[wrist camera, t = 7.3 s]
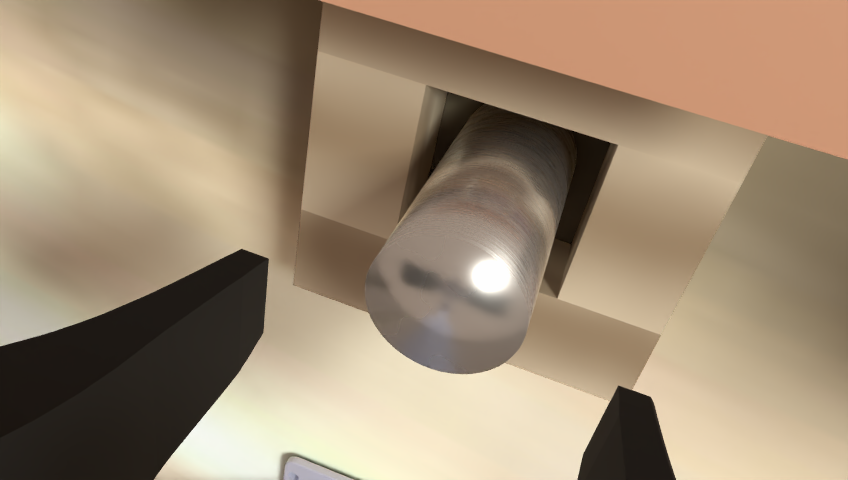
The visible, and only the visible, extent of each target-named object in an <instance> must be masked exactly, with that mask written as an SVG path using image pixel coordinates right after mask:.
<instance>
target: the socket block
mask: <svg viewBox="0 0 848 480" xmlns="http://www.w3.org/2000/svg"><path fill="white" fill-rule="evenodd" d="M448 92H451V93H454V94H457V95H460V96H463V97H467V98H470V99H473V100H476V101H479V102H483V103H486V104H489V105H492V106H495V107H499V108H502V109H505V110H508V111H511V112H515V113H518V114H521V115H524V116H527V117H531V118H534V119H537V120H540V121H543V122H547V123H550V124H553V125H556V126H559V127H563V128H566V129H569V130H572V131H575V132H579V133H582V134H585V135H588V136H591V137H595V138H598V139H601V140H604V141H607V142H611V143H610V146H609V148H608V151H607V154H606V156H605V159H604V161H603V164H602V166H601V169H600V172H599V174H598V177H597V179H596V182H595V184H594V187H593V190H592V192H591V195H590V197H589V200H588V202H587V205H586V208H585V210H584V213H583V215H582V218H581V220H580V223H579V226H578V228H577V231H576V233H575V236H574V238H573V241H572V244H569V243H566V242H563V241H560V240H557V239H554V242H553V245H552V248H551V252H550V255H549V259H548V262H547V265H546V269H545V272H544V275H543V279H542V282H541V286H540V289H539V292H538V296H537V299H536V303H535V306H534V309H533V313H532V316H531V320H530V323H529V326H528V330H527V333H526V336H525V338H524V341H523V343H522V345H521V346H520V348H519V350H518V351H517V352H516V353H515V354H514V355H513V356H512V357H511V358H510V359H509V360H508V361H506V362H505V363H507V364H510V365H513V366H515V367H518V368H521V369H524V370H526V371H529V372H532V373H534V374H537V375H540V376H543V377H545V378H548V379H551V380H554V381H556V382H559V383H562V384H564V385H567V386H570V387H573V388H575V389H578V390H581V391H584V392H586V393H589V394H592V395H594V396H597V397H600V398H603V399H605V400H608V401H611V399H612V397H613V395H614V393H615V391H616V389H617V387H618V385H619V386H622V387H624V388H627V389H630V390H632V389H633V387H634V385H635V383H636V381H637V379H638V377H639V376H640V374H641V372H642V370H643V368H644V366H645V364H646V362H647V361H648V359H649V357H650V355H651V353H652V351H653V349H654V347H655V346H656V344H657V342H658V340H659V338H660V336H661V334H662V332H663V331H664V329H665V327H666V325H667V323H668V321H669V319H670V317H671V316H672V314H673V312H674V310H675V308H676V306H677V304H678V302H679V301H680V299H681V297H682V295H683V293H684V291H685V289H686V287H687V286H688V284H689V282H690V280H691V278H692V276H693V274H694V272H695V270H696V269H697V267H698V265H699V263H700V261H701V259H702V257H703V255H704V254H705V252H706V250H707V248H708V246H709V244H710V242H711V240H712V239H713V237H714V235H715V233H716V231H717V229H718V227H719V225H720V224H721V222H722V220H723V218H724V216H725V214H726V212H727V210H728V209H729V207H730V205H731V203H732V201H733V199H734V197H735V195H736V194H737V192H738V190H739V188H740V186H741V184H742V182H743V180H744V179H745V177H746V175H747V173H748V171H749V169H750V167H751V165H752V164H753V162H754V160H755V158H756V156H757V154H758V152H759V150H760V148H761V147H762V145H763V143H764V141H765V139H766V137H767V135H765V134H762V133H758V132H755V131H752V130H748V129H745V128H742V127H738V126H735V125H732V124H728V123H725V122H722V121H718V120H715V119H712V118H709V117H705V116H702V115H699V114H695V113H692V112H689V111H685V110H682V109H679V108H675V107H672V106H669V105H665V104H662V103H659V102H655V101H652V100H649V99H645V98H642V97H639V96H635V95H632V94H629V93H625V92H622V91H619V90H615V89H612V88H609V87H606V86H602V85H599V84H596V83H592V82H589V81H586V80H582V79H579V78H576V77H572V76H569V75H566V74H562V73H559V72H556V71H552V70H549V69H546V68H542V67H539V66H536V65H532V64H529V63H526V62H522V61H519V60H516V59H512V58H509V57H506V56H502V55H499V54H496V53H493V52H489V51H486V50H483V49H479V48H476V47H473V46H469V45H466V44H463V43H459V42H456V41H453V40H449V39H446V38H443V37H439V36H436V35H433V34H429V33H426V32H423V31H419V30H416V29H413V28H409V27H406V26H403V25H399V24H396V23H393V22H390V21H386V20H383V19H380V18H376V17H373V16H370V15H366V14H363V13H360V12H356V11H353V10H350V9H346V8H343V7H340V6H336V5H333V4H330V3H326V2H323V6H322V15H321V25H320V35H319V44H318V54H317V63H316V73H315V82H314V92H313V101H312V111H311V120H310V130H309V139H308V149H307V159H306V168H305V178H304V187H303V197H302V206H301V216H300V225H299V235H298V244H297V254H296V263H295V273H294V283H293V285H295V286H298V287H300V288H303V289H306V290H308V291H311V292H314V293H317V294H319V295H322V296H325V297H328V298H330V299H333V300H336V301H338V302H341V303H344V304H347V305H349V306H352V307H355V308H357V309H360V310H363V311H366V312H368V313H369V311H368V309H367V305H366V301H365V280H366V275H367V273H368V270H369V268H370V266H371V264H372V263H373V261H374V259H375V258H376V256H377V255H378V253H379V252H380V250H381V249H382V247H383V246H384V244H385V243H386V241H387V240H388V238H389V237H390V235H391V234H392V232H393V231H394V229H395V228H396V226H397V225H398V223H399V222H400V220H401V219H402V217H403V216H404V214H405V213H406V211H407V210H408V208H409V207H410V205H411V204H412V203H413V201H414V200H415V198H416V197H417V195H418V194H419V192H420V191H421V189H422V188H423V186H424V185H425V183H426V182H427V180H428V177H429V173H430V168H431V164H432V159H433V155H434V150H435V146H436V142H437V137H438V133H439V128H440V124H441V119H442V115H443V110H444V106H445V102H446V97H447V93H448Z"/></svg>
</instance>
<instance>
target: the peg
mask: <svg viewBox="0 0 848 480" xmlns="http://www.w3.org/2000/svg"><path fill="white" fill-rule="evenodd" d="M576 162H577V148H576V143H575V139H574V136H573V134H572V131H571V130H569V129H566V128H563V127H559V126H556V125H553V124H550V123H547V122H543V121H540V120H537V119H534V118H531V117H527V116H524V115H521V114H518V113H515V112H511V111H508V110H505V109H502V108H499V107H495V106H492V105H489V104H484V105H483V106H481V107H480V108H478V109H477V110H476V111H475V112H474V113H473V114H472V115H471V116H470V118H469V119H468V120H467V122H466V123H465V125H464V126H463V128H462V129H461V131H460V132H459V134H458V135H457V137H456V138H455V140H454V141H453V143H452V144H451V146H450V147H449V149H448V150H447V152H446V153H445V155H444V156H443V158H442V159H441V161H440V162H439V164H438V165H437V167H436V168H435V170H434V171H433V173H432V174H431V176H430V177H429V179H428V180H427V182H426V183H425V185H424V186H423V188H422V189H421V191H420V192H419V194H418V195H417V197H416V198H415V200H414V201H413V203H412V204H411V205H410V207H409V208H408V210H407V211H406V213H405V214H404V216H403V217H402V219H401V220H400V222H399V223H398V225H397V226H396V228H395V229H394V231H393V232H392V234H391V235H390V237H389V238H388V240H387V241H386V243H385V244H384V246H383V247H382V249H381V250H380V252H379V253H378V255H377V256H376V258H375V259H374V261H373V263H372V264H371V266H370V268H369V270H368V273H367V275H366V280H365V301H366V305H367V309H368V311H369V314H370V316H371V319H372V321H373V322H374V324H375V326H376V327H377V329H378V330H379V332H380V333H381V334H382V336H383V337H384V338H385V339H386V340H387V341H388V342H389V343H390V344H391V345H392V346H393V347H394V348H395V349H397V350H398V351H399V352H400V353H402V354H403V355H405V356H406V357H408V358H409V359H411V360H413V361H415V362H417V363H419V364H421V365H423V366H426V367H428V368H431V369H434V370H438V371H442V372H447V373H455V374H473V373H480V372H484V371H488V370H491V369H493V368H496V367H498V366H500V365H501V364H503V363H505V362H506V361H508V360H509V359H510V358H511V357H512V356H513V355H514V354H515V353H516V352H517V351H518V350H519V348H520V346H521V345H522V343H523V341H524V338H525V336H526V333H527V330H528V326H529V323H530V320H531V316H532V313H533V309H534V306H535V303H536V299H537V296H538V292H539V289H540V286H541V282H542V279H543V275H544V272H545V269H546V265H547V262H548V259H549V255H550V252H551V248H552V245H553V242H554V238H555V235H556V231H557V228H558V225H559V221H560V218H561V214H562V211H563V208H564V204H565V201H566V197H567V194H568V191H569V187H570V184H571V181H572V177H573V174H574V170H575V166H576Z"/></svg>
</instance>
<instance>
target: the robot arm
mask: <svg viewBox="0 0 848 480" xmlns="http://www.w3.org/2000/svg"><path fill="white" fill-rule="evenodd" d="M268 262H269V259H268V258H265V257H262V256H260V255H257V254H254V253H251V252H248V251H246V250H243V249H241V250H239V251H237V252H234V253H232V254H230V255H228V256H226V257H224V258H222V259H220V260H218V261H216V262H214V263H212V264H210V265H208V266H206V267H204V268H202V269H200V270H198V271H196V272H194V273H192V274H190V275H188V276H186V277H184V278H182V279H180V280H178V281H176V282H174V283H172V284H170V285H168V286H166V287H163V288H161V289H159V290H157V291H155V292H153V293H151V294H149V295H147V296H144V297H142V298H140V299H137V300H135V301H133V302H130V303H128V304H126V305H123V306H121V307H119V308H116V309H114V310H111V311H109V312H107V313H104V314H102V315H99V316H97V317H94V318H91V319H89V320H86V321H83V322H80V323H78V324H75V325H72V326H69V327H66V328H63V329H60V330H57V331H54V332H51V333H47V334H44V335H41V336H37V337H34V338H30V339H26V340H23V341H19V342H15V343H11V344H8V345H4V346H0V480H154V478H155V477H156V475H157V474H158V473H159V471H160V470H161V469H162V467H163V466H164V465H165V463H166V462H167V461H168V459H169V458H170V457H171V455H172V454H173V453H174V452H175V450H176V449H177V448H178V447H179V445H180V444H181V443H182V442H183V441H184V439H185V438H186V437H187V436H188V434H189V433H190V432H191V431H192V430H193V428H194V427H195V426H196V425H197V423H198V422H199V421H200V420H201V419H202V417H203V416H204V415H205V414H206V413H207V411H208V410H209V409H210V408H211V406H212V405H213V404H214V403H215V402H216V400H217V399H218V398H219V397H220V395H221V394H222V393H223V392H224V390H225V389H226V388H227V387H228V385H229V384H230V383H231V382H232V380H233V379H234V378H235V377H236V375H237V374H238V373H239V371H240V370H241V368H242V366H243V365H244V363H245V362H246V360H247V359H248V357H249V355H250V354H251V352H252V350H253V349H254V347H255V345H256V344H257V342H258V340H259V339H260V337H261V335H262V334H263V329H264V315H265V302H266V288H267V275H268ZM283 480H354V479H351V478H349V477H346V476H344V475H341V474H339V473H336V472H334V471H331V470H329V469H327V468H324V467H322V466H319V465H317V464H314V463H312V462H309V461H307V460H304V459H302V458H299V457H296V456H294V457H290V458H289V459H288V460H287V462H286V464H285V469H284V478H283ZM578 480H676V478H675V475H674V472H673V469H672V466H671V463H670V460H669V456H668V453H667V450H666V447H665V443H664V440H663V436H662V433H661V429H660V425H659V422H658V418H657V414H656V410H655V406H654V403H653V401H652V399H651V397H649V396H647V395H644V394H641V393H638V392H636V391H633V390H630V389H627V388H624V387H622V386H619V385H618V387H617V389H616V391H615V393H614V395H613V397H612V399H611V401H610V403H609V405H608V407H607V409H606V411H605V413H604V414H603V416H602V418H601V420H600V422H599V424H598V426H597V428H596V430H595V432H594V434H593V436H592V438H591V440H590V442H589V444H588V446H587V448H586V450H585V452H584V454H583V458H582V462H581V467H580V471H579V475H578Z"/></svg>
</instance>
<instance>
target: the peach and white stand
mask: <svg viewBox="0 0 848 480" xmlns="http://www.w3.org/2000/svg"><path fill="white" fill-rule="evenodd" d="M320 1H323V2H326V3H330V4H333V5H336V6H340V7H343V8H346V9H350V10H353V11H356V12H360V13H363V14H366V15H370V16H373V17H376V18H380V19H383V20H386V21H390V22H393V23H396V24H399V25H403V26H406V27H409V28H413V29H416V30H419V31H423V32H426V33H429V34H433V35H436V36H439V37H443V38H446V39H449V40H453V41H456V42H459V43H463V44H466V45H469V46H473V47H476V48H479V49H483V50H486V51H489V52H493V53H496V54H499V55H502V56H506V57H509V58H512V59H516V60H519V61H522V62H526V63H529V64H532V65H536V66H539V67H542V68H546V69H549V70H552V71H556V72H559V73H562V74H566V75H569V76H572V77H576V78H579V79H582V80H586V81H589V82H592V83H596V84H599V85H602V86H606V87H609V88H612V89H615V90H619V91H622V92H625V93H629V94H632V95H635V96H639V97H642V98H645V99H649V100H652V101H655V102H659V103H662V104H665V105H669V106H672V107H675V108H679V109H682V110H685V111H689V112H692V113H695V114H699V115H702V116H705V117H709V118H712V119H715V120H718V121H722V122H725V123H728V124H732V125H735V126H738V127H742V128H745V129H748V130H752V131H755V132H758V133H762V134H765V135H768V136H772V137H775V138H778V139H782V140H785V141H788V142H792V143H795V144H798V145H802V146H805V147H808V148H812V149H815V150H818V151H821V152H825V153H828V154H831V155H835V156H838V157H841V158H845V159H848V0H320Z"/></svg>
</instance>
